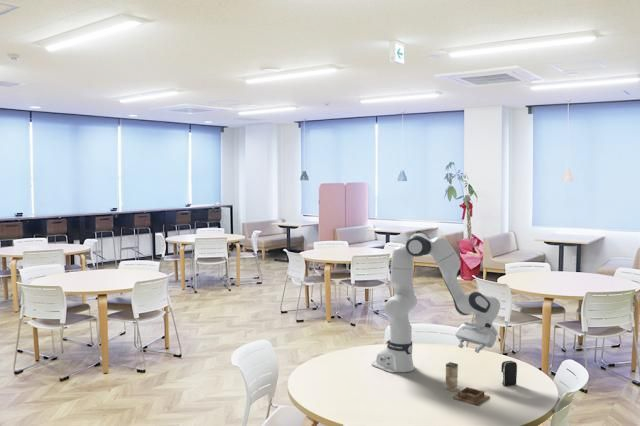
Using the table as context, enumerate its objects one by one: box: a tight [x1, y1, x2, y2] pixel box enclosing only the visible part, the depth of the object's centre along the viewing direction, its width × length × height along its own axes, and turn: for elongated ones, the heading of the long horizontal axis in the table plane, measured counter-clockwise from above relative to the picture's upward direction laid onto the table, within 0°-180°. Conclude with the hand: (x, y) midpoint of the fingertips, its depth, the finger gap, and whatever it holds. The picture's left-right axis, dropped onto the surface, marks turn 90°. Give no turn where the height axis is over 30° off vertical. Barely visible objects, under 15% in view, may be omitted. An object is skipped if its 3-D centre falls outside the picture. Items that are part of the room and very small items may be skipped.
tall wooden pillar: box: [445, 361, 459, 392], centre depth 270 cm, size 4×4×12 cm
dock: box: [452, 386, 491, 407], centre depth 259 cm, size 12×12×3 cm
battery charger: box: [500, 360, 518, 387], centre depth 275 cm, size 7×4×11 cm, turn 110°
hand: (468, 349), depth 277 cm, fingers open, 8 cm apart
